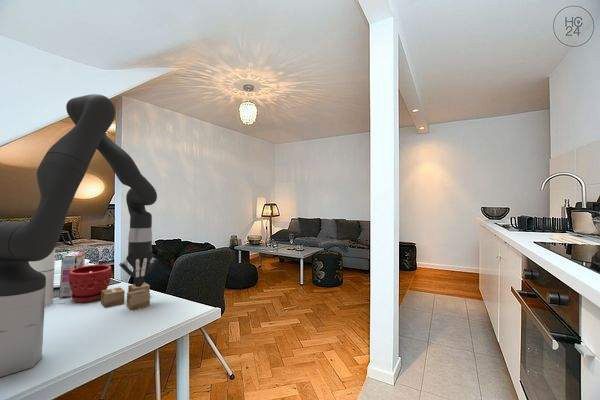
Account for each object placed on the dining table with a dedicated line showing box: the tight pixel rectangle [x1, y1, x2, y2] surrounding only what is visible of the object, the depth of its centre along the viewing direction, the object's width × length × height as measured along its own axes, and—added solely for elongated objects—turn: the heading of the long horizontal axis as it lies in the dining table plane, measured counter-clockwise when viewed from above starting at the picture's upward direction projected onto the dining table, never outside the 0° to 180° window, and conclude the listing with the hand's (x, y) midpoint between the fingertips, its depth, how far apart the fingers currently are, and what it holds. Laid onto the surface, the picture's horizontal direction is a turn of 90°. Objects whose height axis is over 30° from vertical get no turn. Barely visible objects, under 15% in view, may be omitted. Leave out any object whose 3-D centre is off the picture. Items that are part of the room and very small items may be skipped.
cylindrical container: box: [29, 247, 56, 307], centre depth 96 cm, size 7×7×25 cm
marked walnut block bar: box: [100, 287, 125, 309], centre depth 99 cm, size 6×6×5 cm
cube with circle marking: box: [127, 281, 151, 293], centre depth 106 cm, size 6×6×5 cm
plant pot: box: [69, 264, 112, 303], centre depth 104 cm, size 13×13×12 cm
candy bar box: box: [58, 251, 86, 299], centre depth 109 cm, size 11×5×16 cm, turn 25°
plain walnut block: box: [125, 289, 151, 311], centre depth 97 cm, size 6×6×5 cm
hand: (138, 286), depth 98 cm, fingers closed
